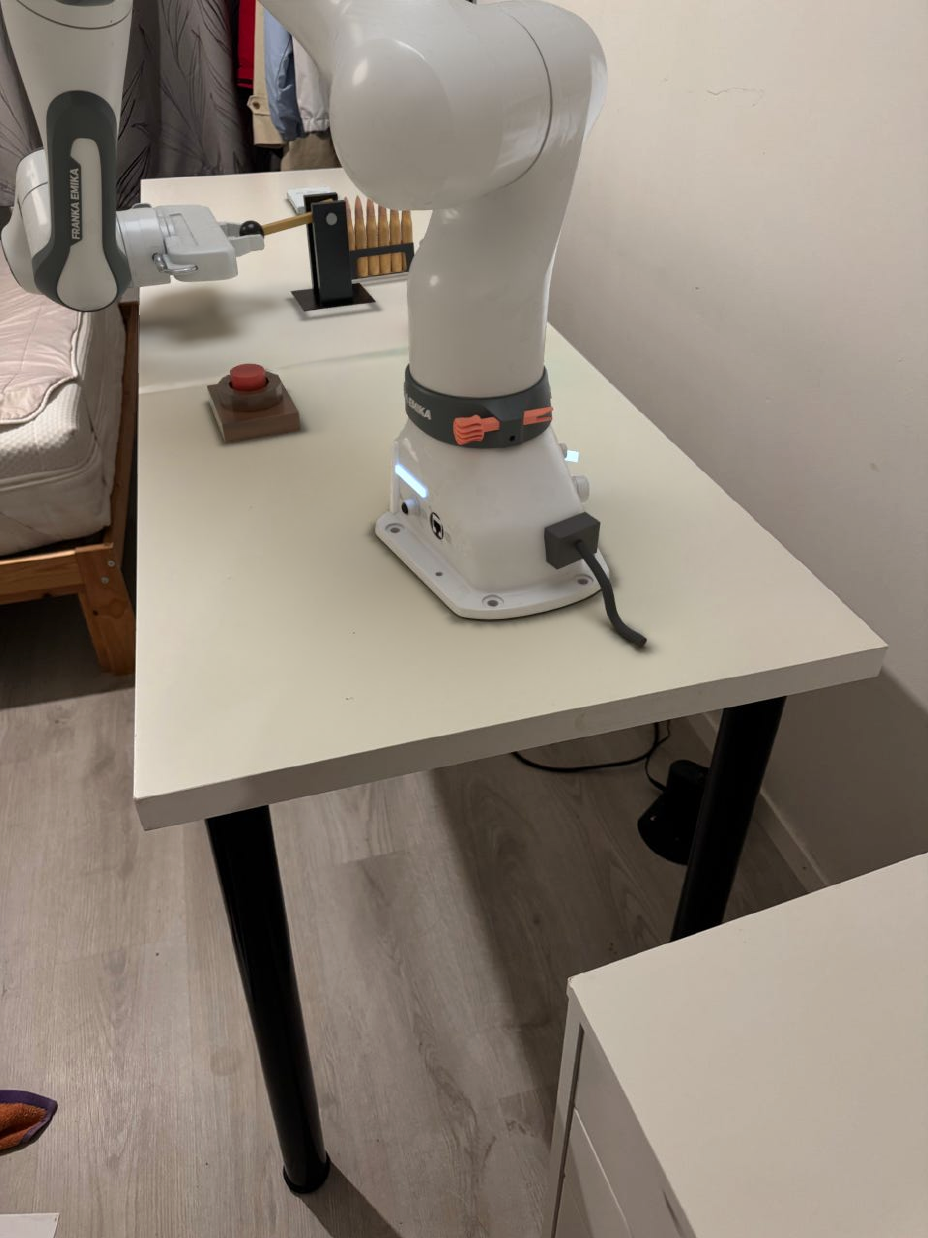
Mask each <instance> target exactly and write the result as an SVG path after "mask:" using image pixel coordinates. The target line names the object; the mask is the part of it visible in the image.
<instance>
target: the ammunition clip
mask: <svg viewBox="0 0 928 1238" xmlns="http://www.w3.org/2000/svg"><path fill="white" fill-rule="evenodd" d="M366 198H367V197H366ZM343 200H344V201H346V210H347V224H348V237H349V251H350V265H351V279H352V281H353V280H359V279H368V278H375V277H383V276H390V275H397V274H403V273H408V272H409V268H410V265H411V262H412V259H413V257H414V255H415V243H414V238H413V221H412V214H411V212H412V211H401V220H400V212H399V210H392V209H389V221H388V214H387V208H385V207H382V206H380V205H378V204H377V220H376V212H375V211H376V210H375V202H373V201H371V200H370V199H369V198H367V199H366V206H365V207H366V208H365V210H366V211H365V212H366V213H365V214H366V215H365V218H366V222H365V218H364V209H363V205H362V201H361V197H360V196H359V195H358V194H357V195H356V197H355V200H354V211H353V213H354V226H353V219H352V211H351V206H350V202H349V199H348V197H347V196H344V198H343Z"/></svg>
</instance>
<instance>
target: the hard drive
mask: <svg viewBox="0 0 928 1238" xmlns="http://www.w3.org/2000/svg"><path fill="white" fill-rule="evenodd" d="M331 192H334V191H333V190H332V188H331V187H330V186H316V187H302V188H290V189H287V190H286V197H287V199H288V201H289V203H290V204H291V206H292V207H293V209H294V210H295V212H296V213H297V216H298V215H301V214H305V209H304V199H303V195H309V194H320V193H331ZM338 200H340V199H339V198H338Z"/></svg>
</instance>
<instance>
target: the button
mask: <svg viewBox="0 0 928 1238" xmlns="http://www.w3.org/2000/svg"><path fill="white" fill-rule="evenodd" d="M265 371H266V370H265V367H264V366H263V365H262V364H258V363H241V364H238V365H235V366H233V367H232V368H231V369H230V370H229V375H230V377H231V383H232V388H233V389H235V390H237V391H254V390H259V389H261V388H263V387H266V385H267V384H266V377H265Z"/></svg>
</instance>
